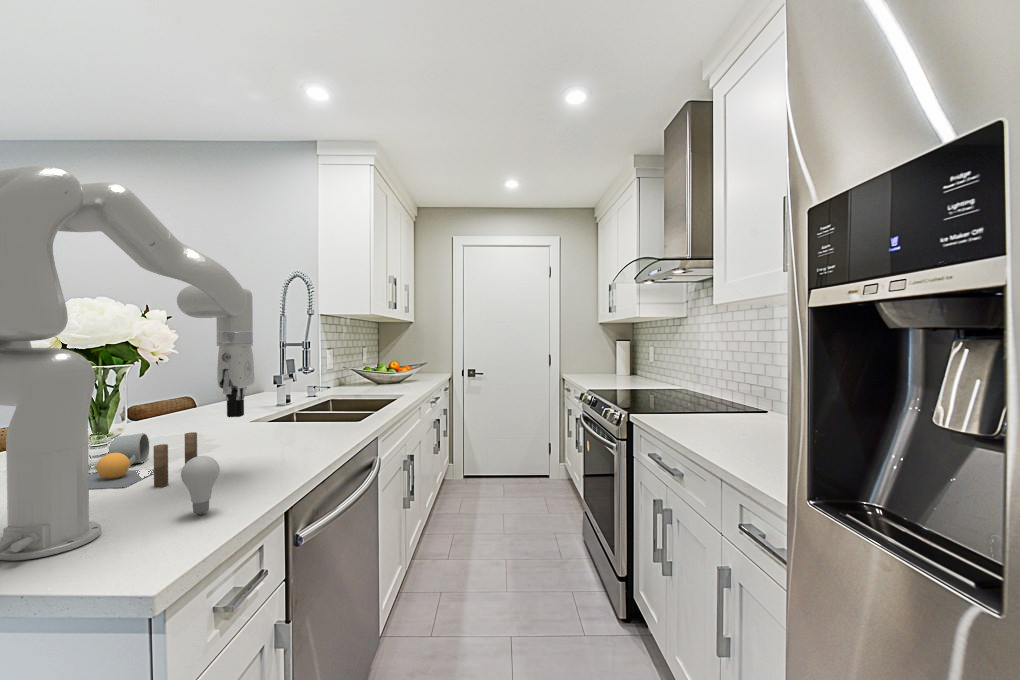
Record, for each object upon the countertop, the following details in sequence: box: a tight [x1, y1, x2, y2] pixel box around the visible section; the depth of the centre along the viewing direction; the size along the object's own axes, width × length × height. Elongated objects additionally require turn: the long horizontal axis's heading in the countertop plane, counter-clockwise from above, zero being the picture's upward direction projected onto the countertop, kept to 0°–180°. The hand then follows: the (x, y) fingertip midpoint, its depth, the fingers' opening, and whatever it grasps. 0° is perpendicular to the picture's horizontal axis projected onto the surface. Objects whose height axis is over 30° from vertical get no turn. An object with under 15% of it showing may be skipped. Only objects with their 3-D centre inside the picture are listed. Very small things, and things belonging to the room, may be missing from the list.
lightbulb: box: [180, 455, 221, 516], centre depth 90 cm, size 6×6×11 cm
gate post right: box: [184, 431, 198, 465], centre depth 120 cm, size 3×3×9 cm
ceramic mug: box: [109, 432, 150, 466], centre depth 124 cm, size 11×8×8 cm
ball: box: [96, 453, 131, 479], centre depth 112 cm, size 6×6×6 cm
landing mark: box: [89, 468, 154, 490], centre depth 111 cm, size 14×14×1 cm
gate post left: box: [153, 443, 169, 488], centre depth 107 cm, size 3×3×9 cm
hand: (235, 416), depth 115 cm, fingers closed
